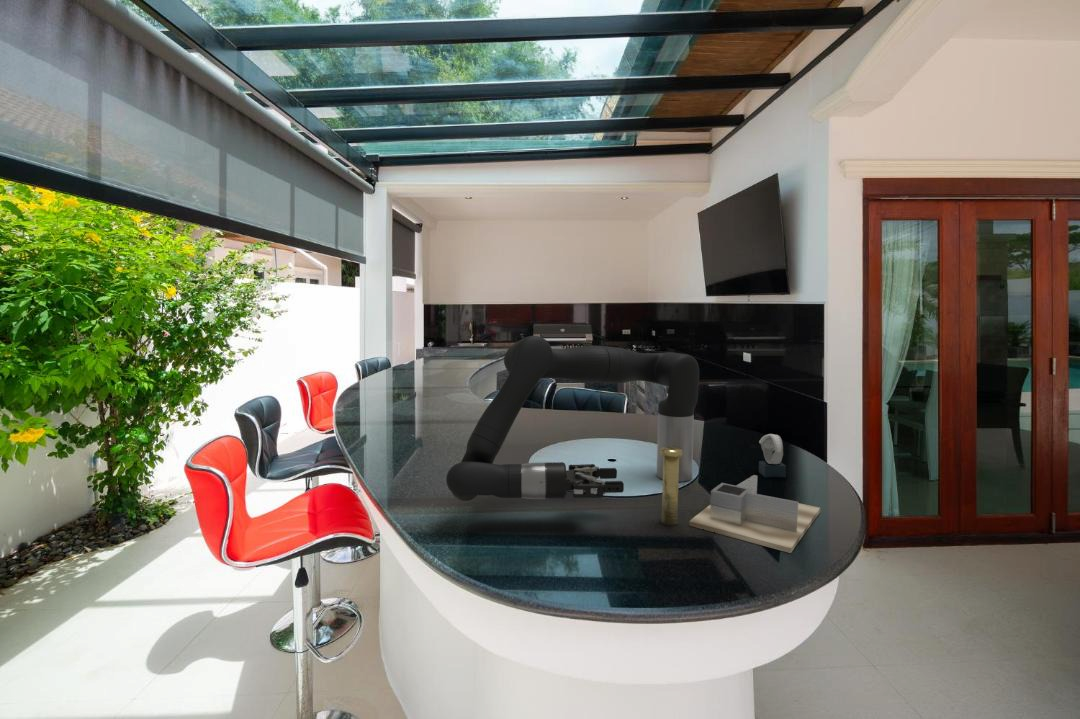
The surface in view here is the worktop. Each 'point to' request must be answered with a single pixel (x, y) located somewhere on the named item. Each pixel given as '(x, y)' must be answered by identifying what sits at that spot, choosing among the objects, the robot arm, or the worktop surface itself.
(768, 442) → the watch
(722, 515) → the hinge
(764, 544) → the board
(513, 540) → the worktop surface
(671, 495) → the hinge pin
